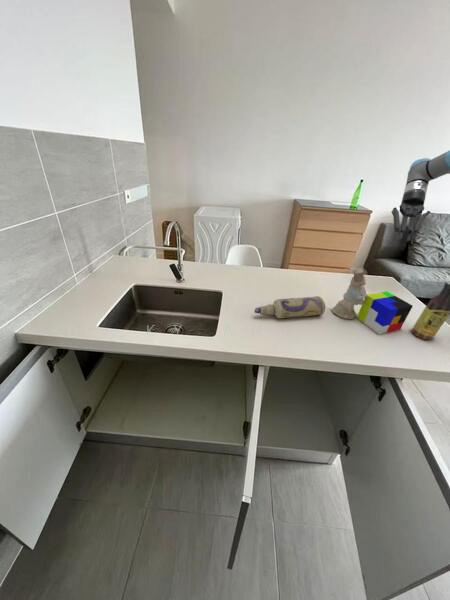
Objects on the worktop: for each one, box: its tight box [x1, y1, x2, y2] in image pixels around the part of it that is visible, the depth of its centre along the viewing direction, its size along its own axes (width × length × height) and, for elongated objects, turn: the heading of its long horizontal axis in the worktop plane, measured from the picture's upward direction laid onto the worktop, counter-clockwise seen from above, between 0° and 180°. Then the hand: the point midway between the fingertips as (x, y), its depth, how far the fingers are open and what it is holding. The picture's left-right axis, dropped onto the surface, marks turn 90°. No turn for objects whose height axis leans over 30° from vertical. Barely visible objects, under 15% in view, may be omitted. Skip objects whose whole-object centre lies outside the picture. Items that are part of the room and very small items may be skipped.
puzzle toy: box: [356, 291, 414, 335], centre depth 86 cm, size 10×10×10 cm
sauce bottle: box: [411, 281, 450, 341], centre depth 79 cm, size 6×6×20 cm
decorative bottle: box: [254, 295, 326, 319], centre depth 88 cm, size 26×8×7 cm, turn 101°
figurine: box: [331, 267, 367, 320], centre depth 87 cm, size 9×8×20 cm
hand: (401, 248), depth 95 cm, fingers closed
